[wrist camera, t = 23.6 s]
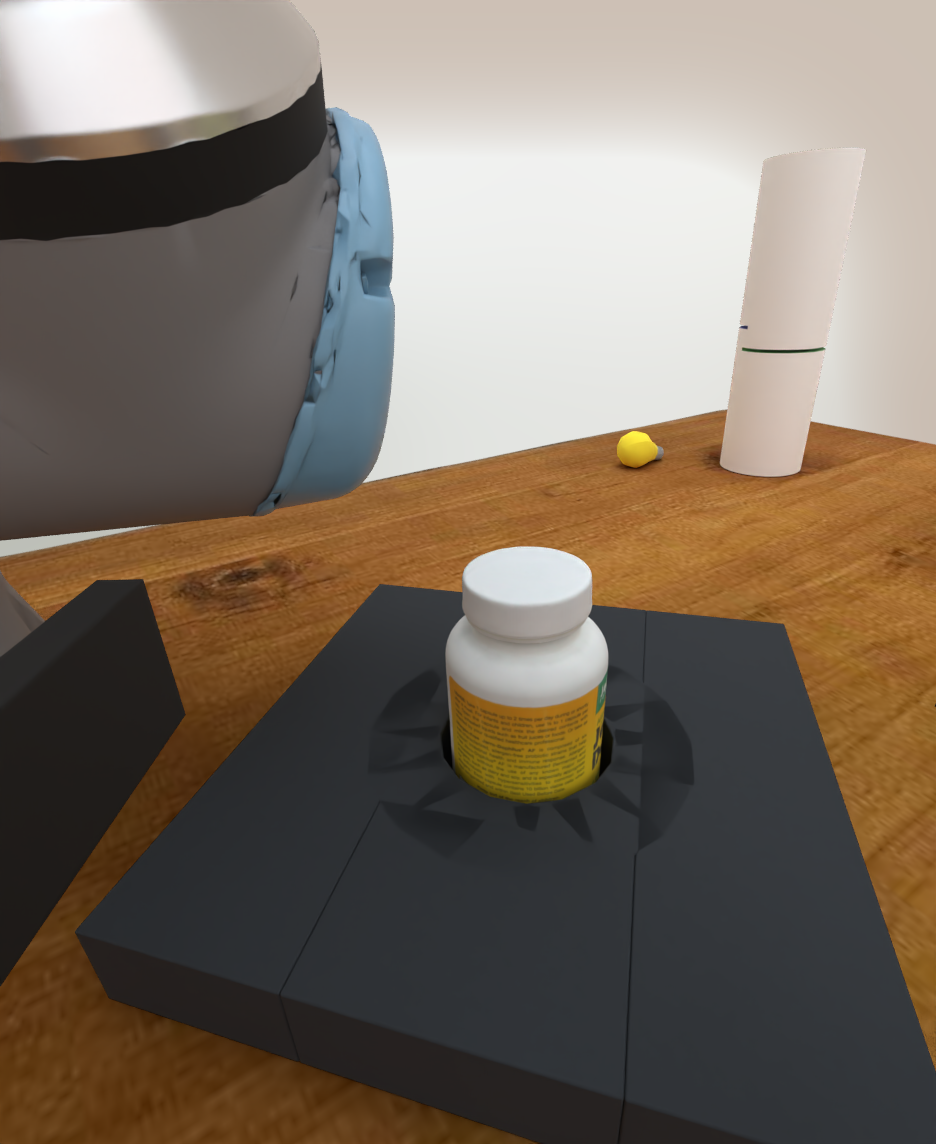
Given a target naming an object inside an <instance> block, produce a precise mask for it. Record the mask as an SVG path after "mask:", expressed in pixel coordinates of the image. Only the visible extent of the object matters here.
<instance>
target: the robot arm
mask: <svg viewBox="0 0 936 1144" xmlns="http://www.w3.org/2000/svg"><path fill="white" fill-rule="evenodd" d="M392 259H393V222H392V211H391V200H390V192H389V186H388V178H387V171H386V167H385V162H384V159H383V155H382V151H381V148H380V144H379V142H378V139H377V137H376V135H375V133H374V132H373V130H372V128H371V127H370V126H369V125H368V124H367V123H366V122H364V121H362V120H359V119H357V118H353V117H351V116H349V114H348V113H347V112H346V111H344V110H342V109H339V108H337V107H336V108H328V109H325V101H324V89H323V78H322V68H321V58H320V51H319V41H318V39H317V36H316V34H315V31H314V30H313V28H312V27H311V26H310V24H309V23H308V22H307V20H306V19H305V18H304V17H303V16H302V14H301V13H300V12H299V11H298V10H297V9H296V7H295V6H294V5H293V4H292V3H291V1H290V0H0V541H1V540H11V539H21V538H31V537H40V536H50V535H60V534H70V533H80V532H90V531H100V530H109V529H120V528H129V527H138V526H149V525H159V524H169V523H179V522H189V521H199V520H209V519H218V518H228V517H238V516H248V515H249V516H264V515H267V514H269V513H271V512H272V511H274V510H275V509H279V508H284V507H290V506H295V505H301V504H306V503H312V502H318V501H323V500H329V499H334V498H338V497H341V496H343V495H345V494H348V493H350V492H351V491H353V490H354V489H356V488H357V487H358V486H360V485H361V484H362V483H363V481H364V480H365V479H366V478H367V476H368V475H369V473H370V472H371V471H372V469H373V467H374V465H375V463H376V461H377V458H378V455H379V452H380V449H381V446H382V441H383V438H384V433H385V428H386V423H387V417H388V409H389V401H390V393H391V382H392V369H393V356H394V324H395V322H394V320H395V319H394V318H395V312H394V311H395V305H394V302H393V298H392V294H391V291H390V287H389V285H390V282H391V279H392V261H393V260H392ZM935 707H936V704H935ZM184 716H185V711H184V708H183V705H182V702H181V699H180V695H179V692H178V689H177V686H176V683H175V679H174V676H173V673H172V670H171V667H170V664H169V660H168V657H167V654H166V651H165V648H164V644H163V641H162V638H161V635H160V632H159V629H158V625H157V622H156V619H155V616H154V613H153V609H152V606H151V603H150V600H149V597H148V594H147V590H146V587H145V584H144V581H143V579H136V580H97V581H95V582H94V583H93V584H92V585H90V586H89V587H88V588H87V589H85V590H84V591H83V592H82V593H80V594H79V595H78V596H77V597H75V598H74V599H73V600H71V601H70V602H69V603H68V604H66V605H65V606H64V607H63V608H61V609H60V610H59V611H58V612H56V613H55V614H54V615H53V616H51V617H50V618H49V619H48V620H46V621H44V620H43V619H42V618H41V616H40V615H39V614H38V613H37V612H36V611H35V610H34V609H33V608H32V607H31V606H30V605H29V604H28V603H27V602H26V601H25V600H24V599H23V598H22V597H21V596H20V595H19V594H18V593H17V592H16V591H15V590H14V589H13V587H12V586H11V585H10V584H9V583H8V582H7V581H6V579H5V578H4V576H3V575H2V573H1V571H0V986H1V985H2V983H3V982H4V980H5V979H6V977H7V976H8V974H9V973H10V972H11V970H12V969H13V967H14V966H15V964H16V963H17V961H18V960H19V958H20V957H21V955H22V954H23V952H24V951H25V950H26V948H27V947H28V945H29V944H30V942H31V941H32V939H33V938H34V936H35V935H36V933H37V932H38V930H39V929H40V927H41V926H42V925H43V923H44V922H45V920H46V919H47V917H48V916H49V914H50V913H51V911H52V910H53V908H54V907H55V905H56V904H57V903H58V901H59V900H60V898H61V897H62V895H63V894H64V892H65V891H66V889H67V888H68V886H69V885H70V883H71V882H72V881H73V879H74V878H75V876H76V875H77V873H78V872H79V870H80V869H81V867H82V866H83V864H84V863H85V861H86V860H87V858H88V857H89V856H90V854H91V853H92V851H93V850H94V848H95V847H96V845H97V844H98V842H99V841H100V839H101V838H102V836H103V835H104V834H105V832H106V831H107V829H108V828H109V826H110V825H111V823H112V822H113V820H114V819H115V817H116V816H117V814H118V813H119V812H120V810H121V809H122V807H123V806H124V804H125V803H126V801H127V800H128V798H129V797H130V795H131V794H132V792H133V791H134V789H135V788H136V787H137V785H138V784H139V782H140V781H141V779H142V778H143V776H144V775H145V773H146V772H147V770H148V769H149V767H150V766H151V765H152V763H153V762H154V760H155V759H156V757H157V756H158V754H159V753H160V751H161V750H162V748H163V747H164V745H165V744H166V743H167V741H168V740H169V738H170V737H171V735H172V734H173V732H174V731H175V729H176V728H177V726H178V725H179V723H180V722H181V720H182V719H183V718H184Z"/></svg>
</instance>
